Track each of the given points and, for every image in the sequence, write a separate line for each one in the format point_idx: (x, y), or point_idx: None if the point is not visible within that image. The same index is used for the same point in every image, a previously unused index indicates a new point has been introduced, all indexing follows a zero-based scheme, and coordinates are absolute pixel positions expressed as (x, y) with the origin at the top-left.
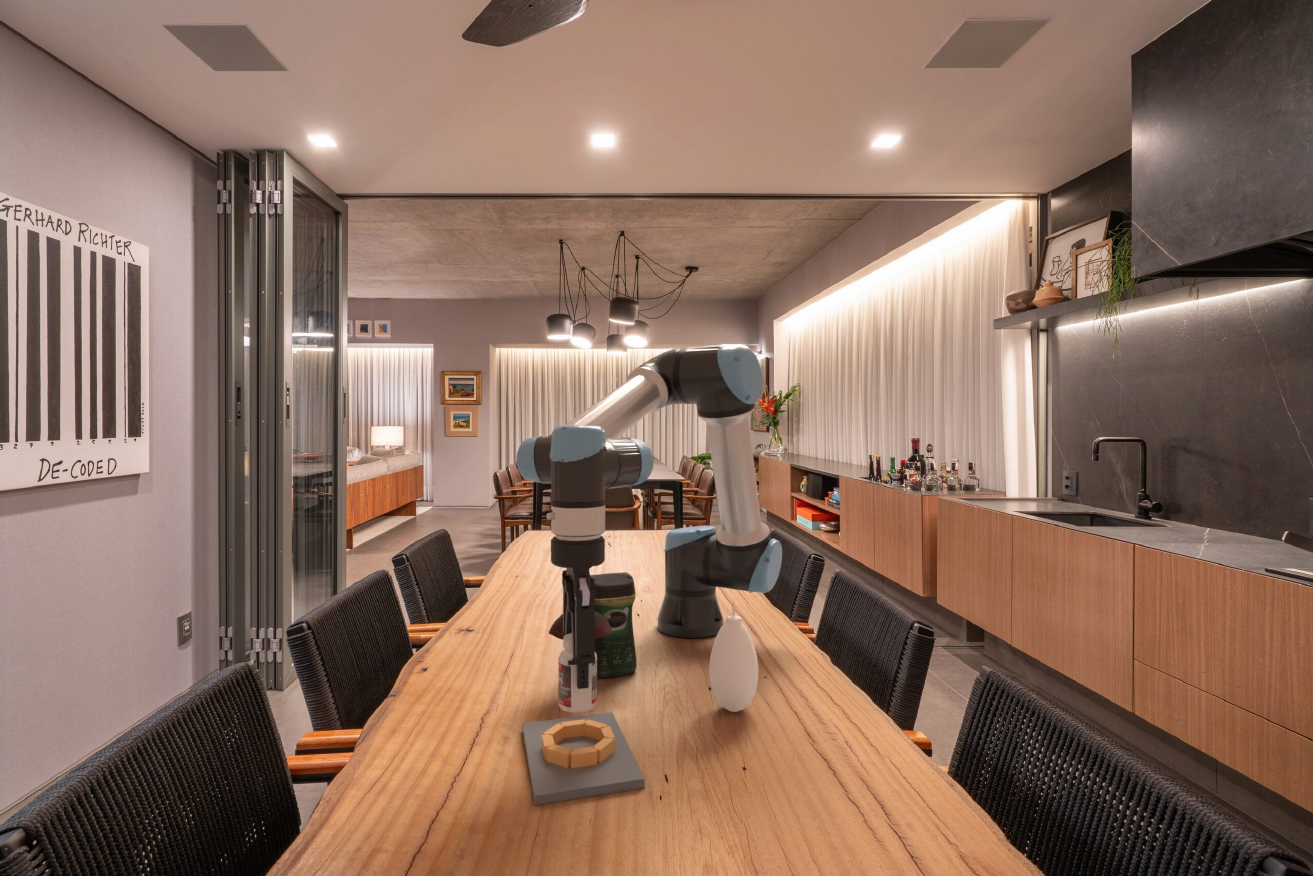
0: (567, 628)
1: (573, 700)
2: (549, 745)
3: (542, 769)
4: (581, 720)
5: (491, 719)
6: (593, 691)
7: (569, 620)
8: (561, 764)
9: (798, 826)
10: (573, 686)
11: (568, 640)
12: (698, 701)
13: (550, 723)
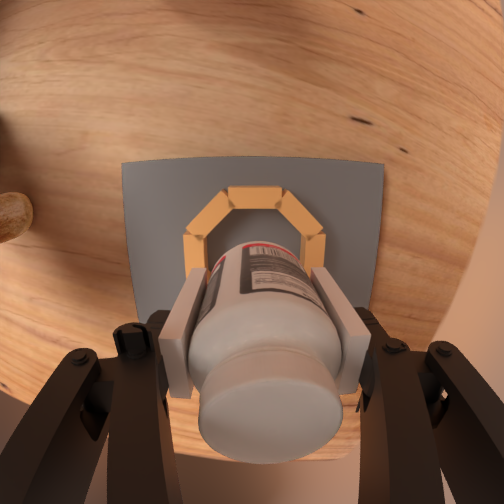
0: (174, 457)
1: None
2: None
3: None
4: (188, 242)
5: (105, 352)
6: (301, 269)
7: (179, 489)
8: None
9: (469, 44)
10: None
11: (308, 454)
12: (112, 7)
13: (145, 285)
